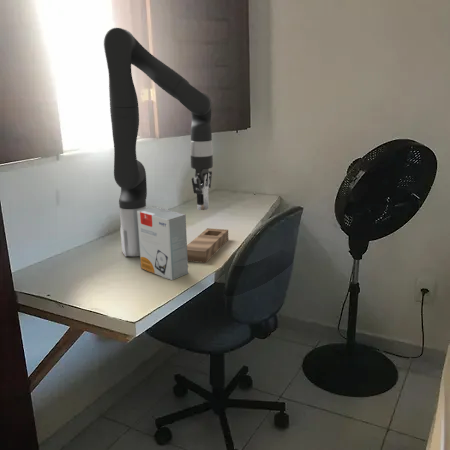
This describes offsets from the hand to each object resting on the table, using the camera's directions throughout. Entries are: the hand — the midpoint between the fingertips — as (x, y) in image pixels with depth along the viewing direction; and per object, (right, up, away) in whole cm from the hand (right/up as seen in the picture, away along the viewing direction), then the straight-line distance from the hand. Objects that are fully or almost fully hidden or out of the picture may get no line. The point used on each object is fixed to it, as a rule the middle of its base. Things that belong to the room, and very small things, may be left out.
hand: (202, 202), depth 177 cm
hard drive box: (-12, -23, -12) cm, 29 cm away
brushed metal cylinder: (0, -2, +1) cm, 2 cm away
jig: (+1, -17, +7) cm, 18 cm away
